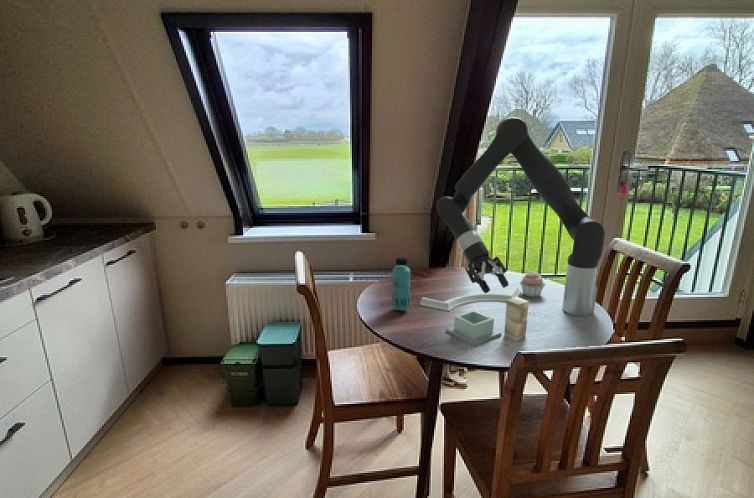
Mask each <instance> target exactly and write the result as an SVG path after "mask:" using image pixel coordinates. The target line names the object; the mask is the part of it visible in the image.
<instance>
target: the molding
mask: <svg viewBox="0 0 754 498" xmlns="http://www.w3.org/2000/svg"><path fill="white" fill-rule="evenodd" d="M521 294H522V290H520V289H519V287H518V286H514V287H513V288H507V289H506V290H505V291H504V293H476V294H474V293H473V294H467V295H466V294H465V295H462V296H458V297H453V298H450V299H448V300H445V301H441V300H436V299H432V298H428V297H421V300H420V303H419V306H422V307H426V308H431V309H437V310H441V311H445V312H451V311H453V310H454V309H455V308H457V307H460V306H464V305H467V304H468V305H469V304H472V303H479V302H481V303H482V302H500V303H501V302H502V303H507V300H508V299H511V298H514V297H519V298H520V295H521Z"/></svg>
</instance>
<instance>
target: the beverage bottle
mask: <svg viewBox="0 0 754 498" xmlns="http://www.w3.org/2000/svg"><path fill="white" fill-rule="evenodd" d="M408 264H409V263H408V258H407V257H406V256H397V257H396V258H395V265H396V266H394V268H392V279H391V280H392V282H391V284H392V294H391V300H392V301H391V303H392V308H393V309H394V310H398V311H406V310H409V308H410V307H411V269H410V268H409V267H408V266H407V265H408Z"/></svg>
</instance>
